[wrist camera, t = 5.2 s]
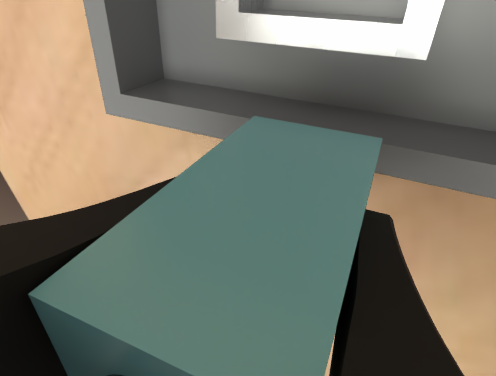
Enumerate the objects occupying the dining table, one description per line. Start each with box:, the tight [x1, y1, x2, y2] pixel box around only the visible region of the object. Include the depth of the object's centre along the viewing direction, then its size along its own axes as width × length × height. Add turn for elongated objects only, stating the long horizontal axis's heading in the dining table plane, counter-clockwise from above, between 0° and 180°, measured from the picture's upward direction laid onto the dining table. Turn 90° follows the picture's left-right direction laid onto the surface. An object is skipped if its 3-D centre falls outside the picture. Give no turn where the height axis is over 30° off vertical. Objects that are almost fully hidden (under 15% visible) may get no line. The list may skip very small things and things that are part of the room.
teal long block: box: [28, 116, 383, 376], centre depth 8 cm, size 4×4×9 cm
